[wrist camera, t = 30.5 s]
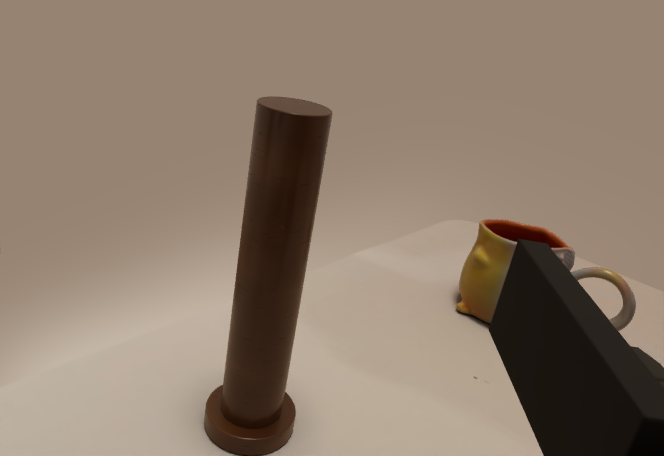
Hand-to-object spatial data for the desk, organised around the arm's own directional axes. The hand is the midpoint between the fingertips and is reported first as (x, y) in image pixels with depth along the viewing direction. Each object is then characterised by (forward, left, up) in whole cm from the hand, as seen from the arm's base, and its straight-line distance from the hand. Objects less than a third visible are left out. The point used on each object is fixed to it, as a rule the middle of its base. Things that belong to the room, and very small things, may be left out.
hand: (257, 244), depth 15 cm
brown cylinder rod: (+3, +9, -14) cm, 17 cm away
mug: (+26, +16, -14) cm, 34 cm away
